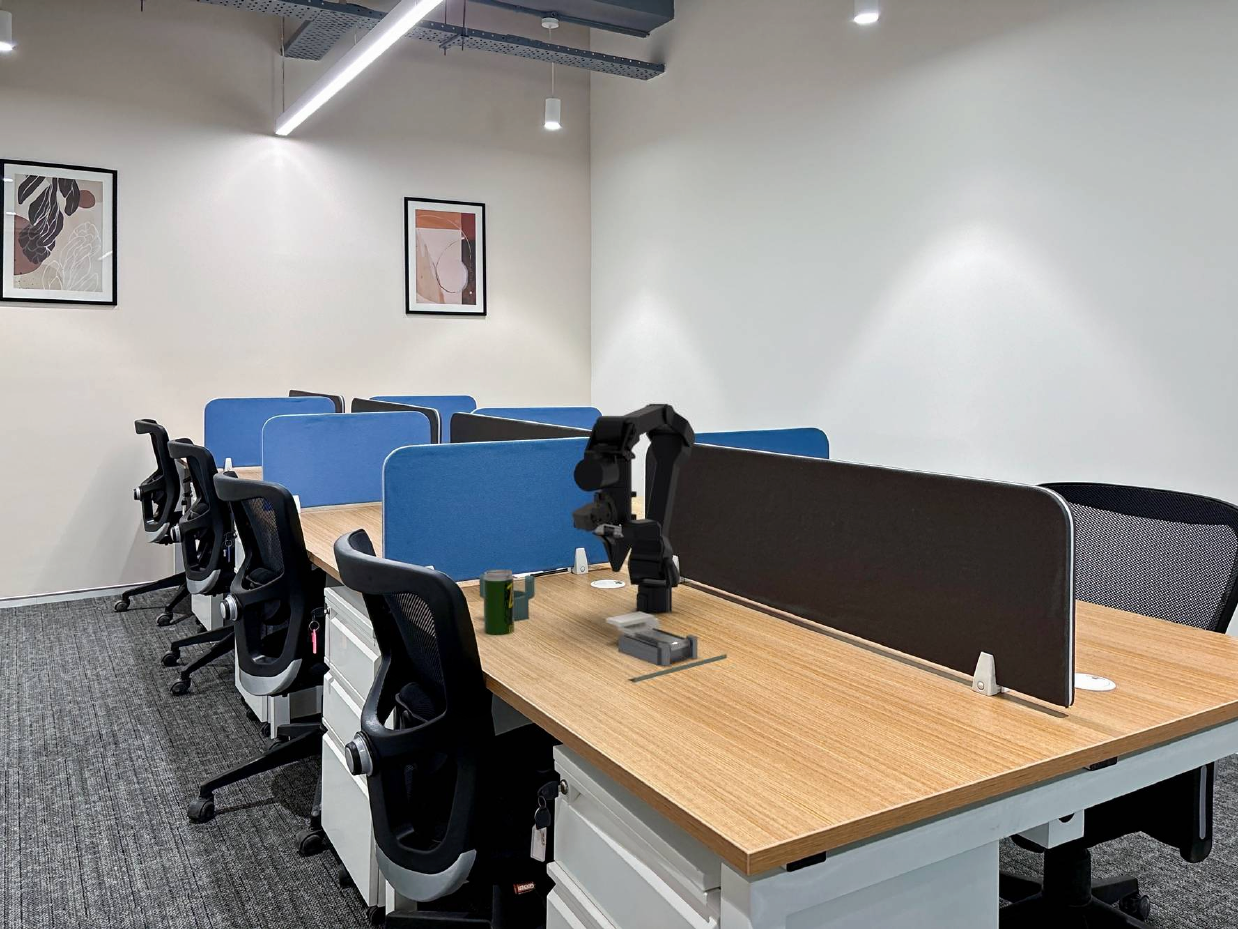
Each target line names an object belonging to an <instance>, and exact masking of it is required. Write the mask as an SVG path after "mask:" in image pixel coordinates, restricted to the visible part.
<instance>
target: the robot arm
mask: <svg viewBox="0 0 1238 929" xmlns="http://www.w3.org/2000/svg"><path fill="white" fill-rule="evenodd" d="M644 434H645V435H646V437H647V439H648V441H649V442H650V452H651V454H652V456H653V458H654V461H655V469H654V472H653V473H654V474H653V480H652V485H651V489H650V490H651V491H650V496H649V501H648V506H647V512H646V513H647V514H646V516H645V517H646V518H642V519H641V518H640V519H637V518H638V516H637V514H636V513H633V512H632V511H633V510H632V509H633V507H632V506H633V505H632V504H633V503H632V502H633V501H632V498H633V499H634V498H637V496H638V495H637V494H638V492H637V491H635V490H634V491H633V490H632V488H633V487H632V486H633V483H632V482H633V480H632V472H633V471H632V470H633V469H632V460H635V459H636V458H637V457H636V454H635V453H634V452H633V451H632V450H633V448H634V447H635V446H636V445H637V444H638V443H639V442H640V441H641V438H640V436H642V435H644ZM695 441H696V434H695V431H694V430H693V427H692V425H691V424H690V422H689V420H688V419H686V418H685V417H684V416H682V415H681V414H679V413H677V411H676V410H675V409H674V407H673V406H672V405H671V404H669V403H649V404H646V405H645V406H644V407H642V408H639V409H636V410H634V411H632V412H630V413H627V414H623V415H600V416H599V417H597V419H596V420H595V423H594V424H593V426H592V429H591V432H590V435H589V438H588V440H587V444H586V446H585V449H584V452H583V459H581V460H579V461H578V462H577V464H576V465H575V468H574V471H573V480H574V482H575V484H576V486H577V487H578V488H579V489H580V490H582V491H584V492H588V493H592V492H594V493H593V500H592V501H591V502H588V503H585V504H584V505H582V506H580V507H578V508H577V509H574V510H573V511H572V512H571V515H572V519H573V528H575V529H576V530H578V531H579V530H583V531H585V532H587V533H588V532H592V533H591V534H592V536H593V537H595V538H597V539H598V540H599V541H600V542H601V543H602V546H603V548H604V550H605V553H606V556H607V558H608V562H609V564H610V568H611V571H612V572H613V573H619V572H621V569H622V568H623V565H624V564H625V561H626V559H627V557H628V559H627V571H628V575H629V582H630V585H631V586H637V593H636V598H635V599H636V612H639V611H640V612H643V613H647V614H650V615H653V614H656V615H657V614H665V613H668V612H670V613H674V614H677V612H676V611H672V610H673V608H672V607H673V589H674V588H678V587H679V584H680V581H681V580H680V578H681V573H680V571H679V569H678V567H677V565H676V563H675V561H674V551H673V548H672V544H671V543H670V541H669V534H670V533H669V532H670V526H671V521H672V516H673V510H674V509H673V508H674V504H675V497H676V491H677V485H678V479H679V473H680V469H681V468H682V466H684V464H685V463H686V462H687V460H689V459H690V457H691V453H692V449H693V447H694V445H695V443H696V442H695ZM593 531H595V532H593ZM628 555H629V556H628Z"/></svg>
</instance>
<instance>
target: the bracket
mask: <svg viewBox="0 0 1238 929" xmlns="http://www.w3.org/2000/svg"><path fill="white" fill-rule="evenodd" d="M478 576H479V577H478V578H479V580H478V582H479V587H478V588H479V597H480V598H482V599H484V587H483V578H484V576H485V573H484V574H479V575H478ZM524 587H525V588H524V590H520V589H514V623H515V622H520V621H525V620H529V619H530V616H529V615H530V610H529V607H530V606H529V604H530V602H529V601H530V600H532V599H533V598H535V575H525V577H524Z"/></svg>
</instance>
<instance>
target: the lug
mask: <svg viewBox="0 0 1238 929" xmlns="http://www.w3.org/2000/svg"><path fill="white" fill-rule="evenodd" d="M605 622H606V623H607V624H611V625H612V626H613V625H614V626H616V627H617V626H619V627H623V626H628V625H632V624H637V625H640V626H643V627H646V628H649V629H652V628H656V629H660V625H659V624H660V619H659V618H657V617H655V615H653V614H647V613H643V612H640V611H639V612H637V611H634V612H628V613H625V614H621V615H616V616H610V617H606V618H605ZM630 636H632V637H636V636H633V635H631V634H630Z"/></svg>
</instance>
